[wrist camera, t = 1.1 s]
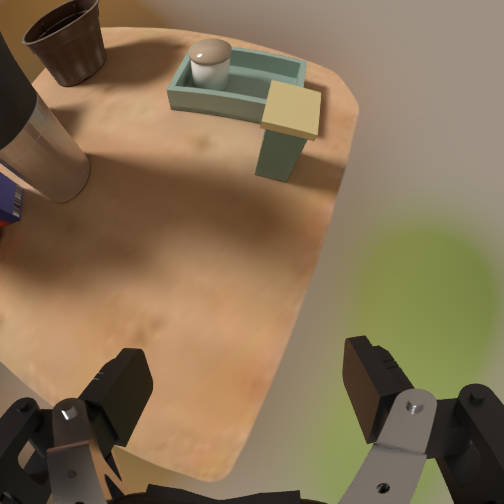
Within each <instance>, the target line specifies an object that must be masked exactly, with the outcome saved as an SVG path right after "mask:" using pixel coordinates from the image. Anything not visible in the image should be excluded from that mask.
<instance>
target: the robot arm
mask: <svg viewBox="0 0 504 504" xmlns="http://www.w3.org/2000/svg"><path fill="white" fill-rule="evenodd" d="M0 163H1V164H2V165H4V166H5V167H6V168H8V169H9V170H10V171H11V172H13V173H14V174H16V175H17V176H18V177H20V178H21V179H22V180H24V181H25V182H26V183H28V184H29V185H31V186H32V187H33V188H35V189H36V190H38V191H39V192H40V193H42V194H43V195H45V196H46V197H47V198H49V199H50V200H52V201H54V202H57V203H63V202H66V201H69V200H70V199H72V198H74V197H75V196H76V195H77V194H78V193H79V192H80V191H81V190H82V188H83V187H84V185H85V184H86V182H87V180H88V177H89V173H90V162H89V159H88V157H87V156H86V155H85V153H84V152H83V151H82V150H81V149H80V147H79V146H78V145H77V143H76V142H75V141H74V140H73V139H72V137H71V136H70V135H69V134H68V132H67V131H66V130H65V129H64V127H63V126H62V125H61V123H60V122H59V121H58V120H57V118H56V117H55V116H54V114H53V113H52V112H51V110H50V109H49V108H48V106H47V105H46V104H45V103H44V101H43V100H42V99H41V97H40V96H39V95H38V93H37V92H36V90H35V89H34V88H33V86H32V85H31V83H30V82H29V80H28V79H27V77H26V76H25V74H24V73H23V71H22V70H21V68H20V67H19V65H18V64H17V62H16V61H15V59H14V57H13V55H12V54H11V52H10V50H9V48H8V46H7V44H6V42H5V40H4V38H3V36H2V34H1V32H0ZM342 372H343V382H344V385H345V388H346V391H347V393H348V396H349V398H350V401H351V403H352V406H353V409H354V411H355V414H356V416H357V419H358V422H359V424H360V427H361V429H362V432H363V435H364V437H365V440H366V443H367V444H370V443H374V442H376V443H374V444H373V446H372V448H371V449H370V452H369V453H368V455H367V457H366V458H365V461H364V462H363V464H362V466H361V467H360V469H359V471H358V473H357V474H356V476H355V478H354V480H353V481H352V483H351V484H350V486H349V487H348V489H347V491H346V492H345V494H344V495H343V497H342V498H341V500H340V501H339V503H338V504H410V501H411V499H412V497H413V494H414V492H415V489H416V487H417V484H418V481H419V478H420V476H421V473H422V470H423V467H424V464H425V461H426V459H431V458H435V459H436V461H437V464H438V466H439V468H440V471H441V473H442V475H443V478H444V480H445V482H446V485H447V487H448V489H449V492H450V494H451V497H452V499H453V501H454V504H504V405H503V404H502V403H501V401H500V400H499V399H498V397H497V396H496V395H495V394H494V393H493V391H492V390H491V389H490V388H488V387H487V386H484V385H481V384H470V385H467V386H465V387H463V388H462V389H461V391H460V393H459V396H458V398H453V399H443V400H436V399H435V397H434V396H433V395H432V394H431V393H429V392H428V391H425V390H422V389H415V388H414V387H413V386H412V384H411V382H410V381H409V379H408V378H407V377H406V375H405V374H404V372H403V371H402V369H401V368H400V367H399V365H398V364H397V362H396V361H394V358H393V357H392V356H391V354H390V353H389V351H387V350H385V349H384V348H382V347H380V346H379V345H378V346H372V344H370V342H369V340H368V339H367V337H366V336H358V337H352V338H346V340H345V347H344V360H343V371H342ZM152 391H153V379H152V376H151V373H150V370H149V367H148V364H147V361H146V357H145V354H144V352H143V350H142V349H136V348H123V349H122V351H121V352H120V353H119V354H118V356H117V357H116V358H115V359H112V360H111V361H109V362H108V363H106V364H105V365H104V366H103V367H102V368H101V370H100V371H99V373H97V375H96V376H95V377H94V379H93V380H92V381H91V382H90V383H89V385H88V386H87V387H86V388H85V390H84V391H83V392H82V394H81V395H80V396H79V397H78V398H67V399H64V400H62V401H60V402H59V403H57V404H56V405H55V407H54V408H53V409H40V408H39V406H38V404H37V402H36V401H35V400H34V399H33V398H28V397H27V398H21V399H19V400H17V401H16V402H14V403H13V404H12V405H11V406H10V408H9V409H8V410H7V411H6V412H5V413H4V415H3V416H2V417H1V418H0V504H46V503H47V501H48V499H49V497H50V494H51V492H52V496H53V501H54V504H327V503H324V502H320V501H315V500H309V499H301V498H300V491H299V490H297V491H286V492H271V493H258V494H254V495H249V496H244V497H238V498H232V499H226V500H216V499H212V498H208V497H205V496H201V495H198V494H195V493H192V492H189V491H186V490H183V489H176V488H170V487H164V486H158V485H152V484H149V485H148V487H147V490H146V492H141V493H133V494H132V493H131V491H130V490H129V488H128V486H127V484H126V482H125V479H124V477H123V475H122V472H121V470H120V467H119V465H118V463H117V460H116V457H115V454H114V452H113V451H112V448H113V446H114V445H118V446H122V447H126V445H127V443H128V441H129V439H130V437H131V435H132V433H133V430H134V428H135V426H136V424H137V422H138V420H139V418H140V416H141V414H142V412H143V410H144V408H145V406H146V404H147V402H148V400H149V398H150V396H151V394H152ZM27 441H29V442H30V444H31V445H32V446H33V448H34V449H35V451H34V453H33V455H32V456H31V458H30V459H29V461H28V463H27V464H26V466H25V467H24V469H22V468H21V467H20V465H19V463H18V455H19V453H20V451H21V450H22V449H23V447H24V446H25V444H26V443H27ZM475 447H476V448H475ZM478 452H479V453H478ZM479 454H480V455H479Z"/></svg>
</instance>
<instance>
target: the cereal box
mask: <svg viewBox="0 0 504 504" xmlns="http://www.w3.org/2000/svg"><path fill="white" fill-rule="evenodd" d="M22 195H23V188H22V187H21V186H19V185H18V184H16V183H15V182H13V181H12V180H11V179H9V178H8V177H6V176H5V175H4V174H2V173H1V172H0V227H3V226H5V225H8V224H11V223H13V222H16V221H19V220H20V218H21V205H22Z"/></svg>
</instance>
